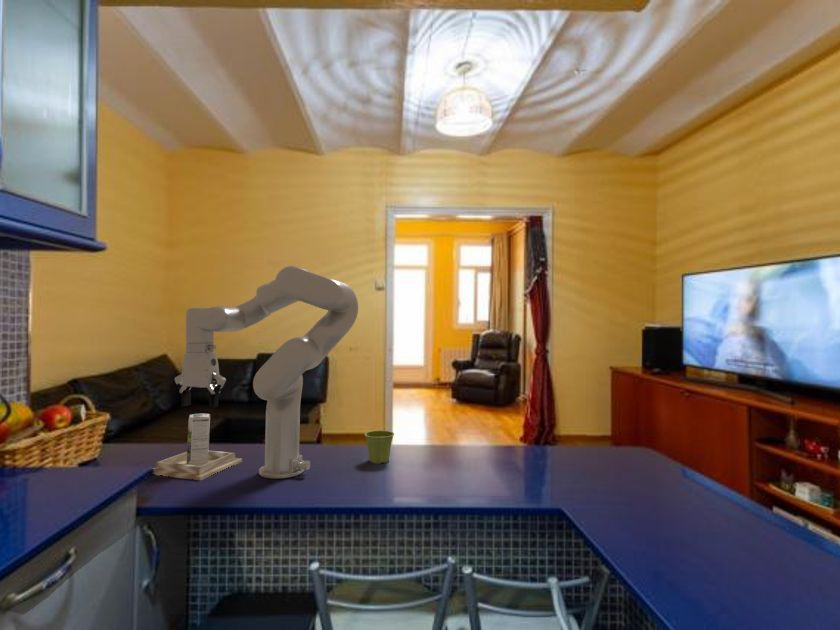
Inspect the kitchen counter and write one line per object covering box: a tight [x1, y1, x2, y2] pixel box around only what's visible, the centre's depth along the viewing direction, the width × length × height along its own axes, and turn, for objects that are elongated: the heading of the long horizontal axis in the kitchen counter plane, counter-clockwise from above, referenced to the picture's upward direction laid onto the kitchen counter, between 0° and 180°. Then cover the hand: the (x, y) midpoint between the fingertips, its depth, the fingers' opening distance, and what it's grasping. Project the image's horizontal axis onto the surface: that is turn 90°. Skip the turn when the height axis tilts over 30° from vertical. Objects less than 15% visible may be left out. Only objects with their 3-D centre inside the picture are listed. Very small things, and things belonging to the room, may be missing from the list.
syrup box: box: [186, 413, 211, 466], centre depth 138 cm, size 6×6×14 cm
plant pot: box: [364, 430, 395, 464], centre depth 147 cm, size 9×9×9 cm
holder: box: [152, 450, 243, 481], centre depth 138 cm, size 18×18×3 cm
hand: (199, 406), depth 138 cm, fingers open, 9 cm apart
